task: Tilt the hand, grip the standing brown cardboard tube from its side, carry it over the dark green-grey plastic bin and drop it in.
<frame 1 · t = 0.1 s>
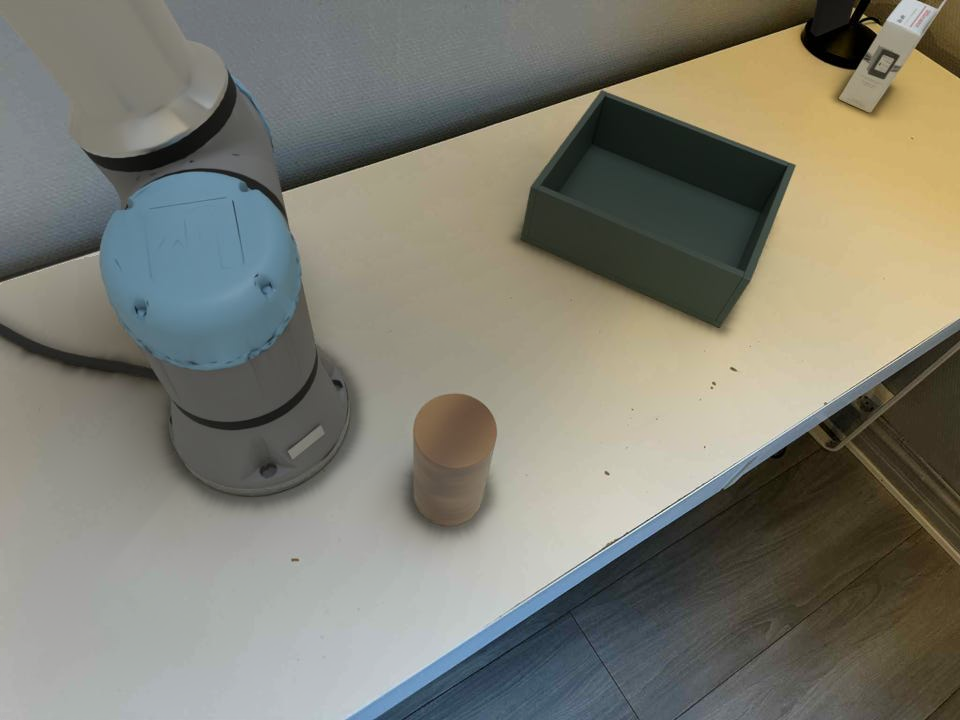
ink box: (862, 94, 96), on the table
cardboard tube: (448, 492, 57), on the table
bin: (647, 227, 77), on the table
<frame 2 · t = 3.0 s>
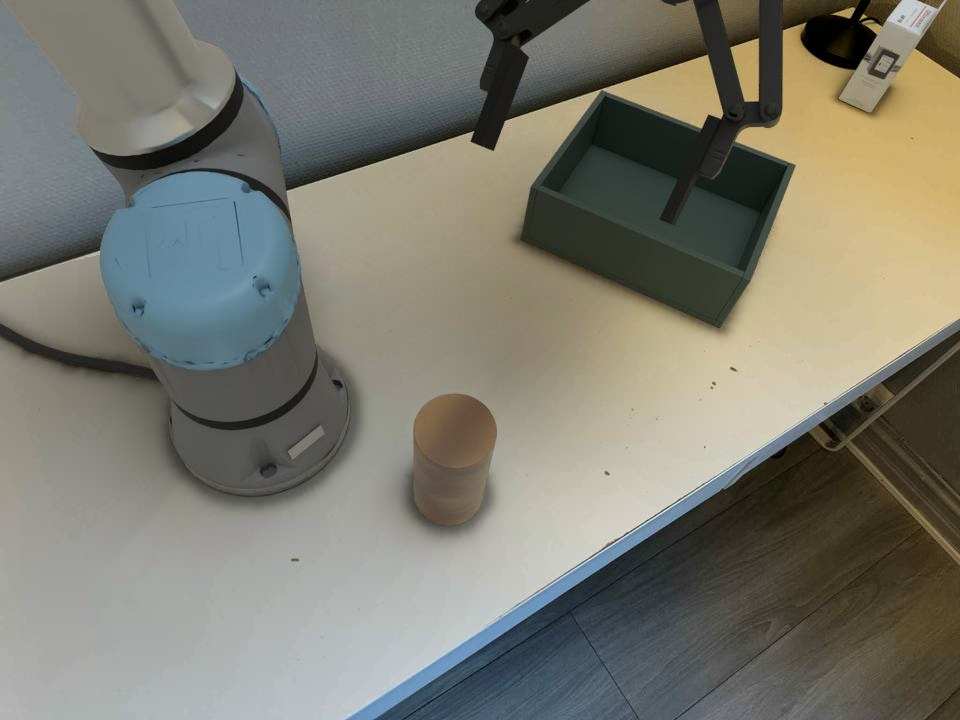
hand: (570, 183, 44), 25 cm above the table, tool tilted 40°, fingers open, 13 cm apart
nothing on the table moved.
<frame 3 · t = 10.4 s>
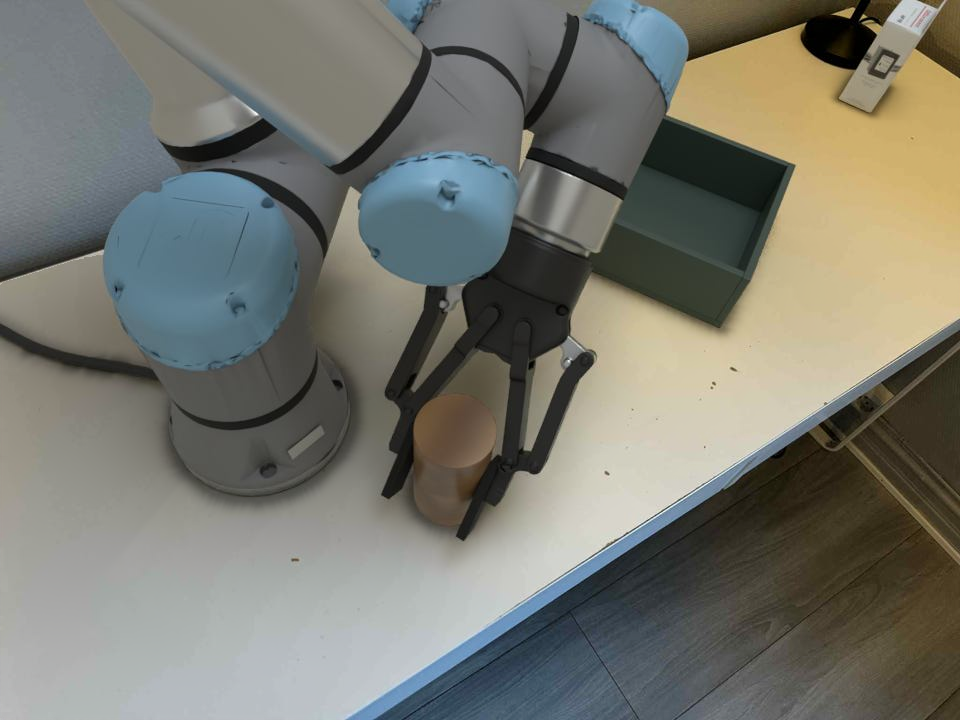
hand: (427, 511, 52), 4 cm above the table, tool tilted 45°, fingers closed on cardboard tube, 6 cm apart
cardboard tube: (448, 492, 57), on the table, touching gripper
everything else where it was.
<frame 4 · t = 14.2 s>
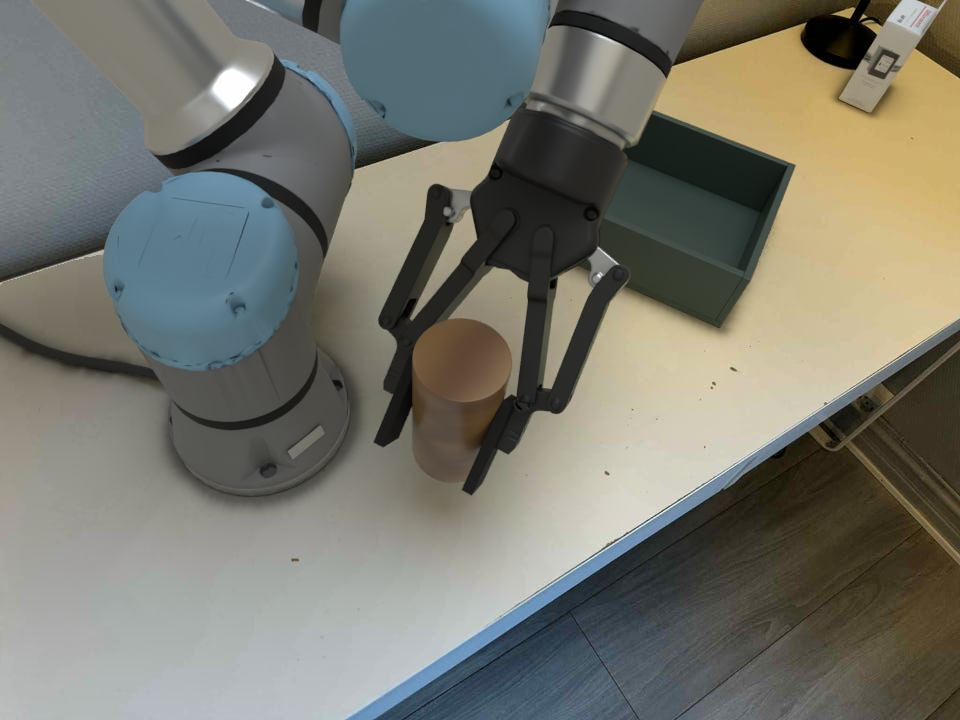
hand: (429, 462, 45), 13 cm above the table, tool tilted 45°, fingers closed on cardboard tube, 6 cm apart
cardboard tube: (452, 445, 50), point 9 cm above the table, touching gripper
everything else where it was.
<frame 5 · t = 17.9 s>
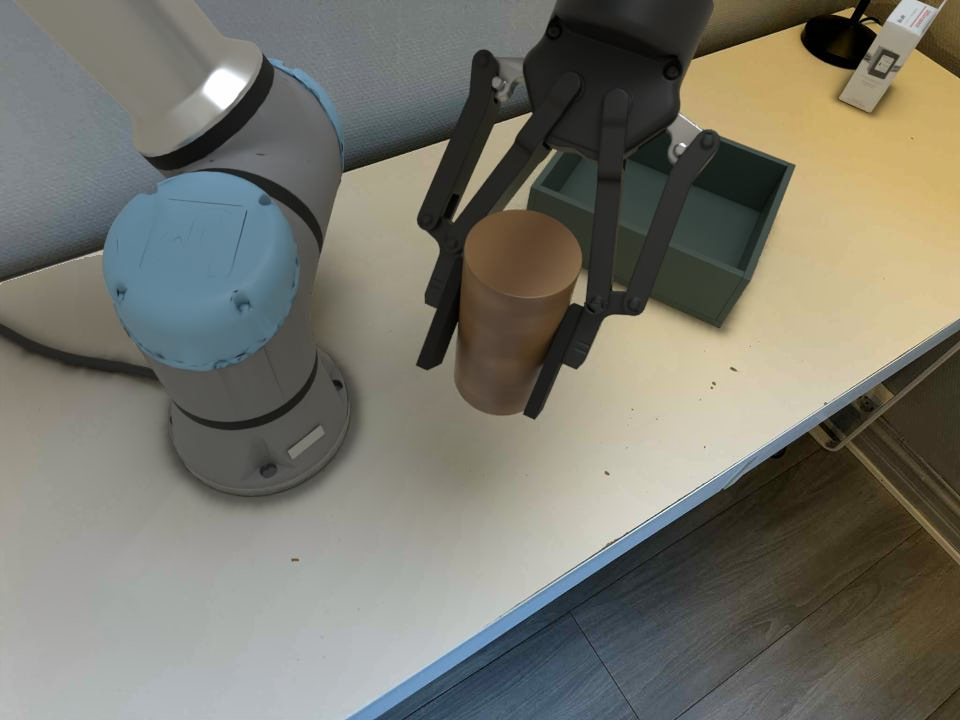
hand: (480, 387, 38), 22 cm above the table, tool tilted 45°, fingers closed on cardboard tube, 6 cm apart
cardboard tube: (499, 375, 43), point 18 cm above the table, touching gripper
everything else where it was.
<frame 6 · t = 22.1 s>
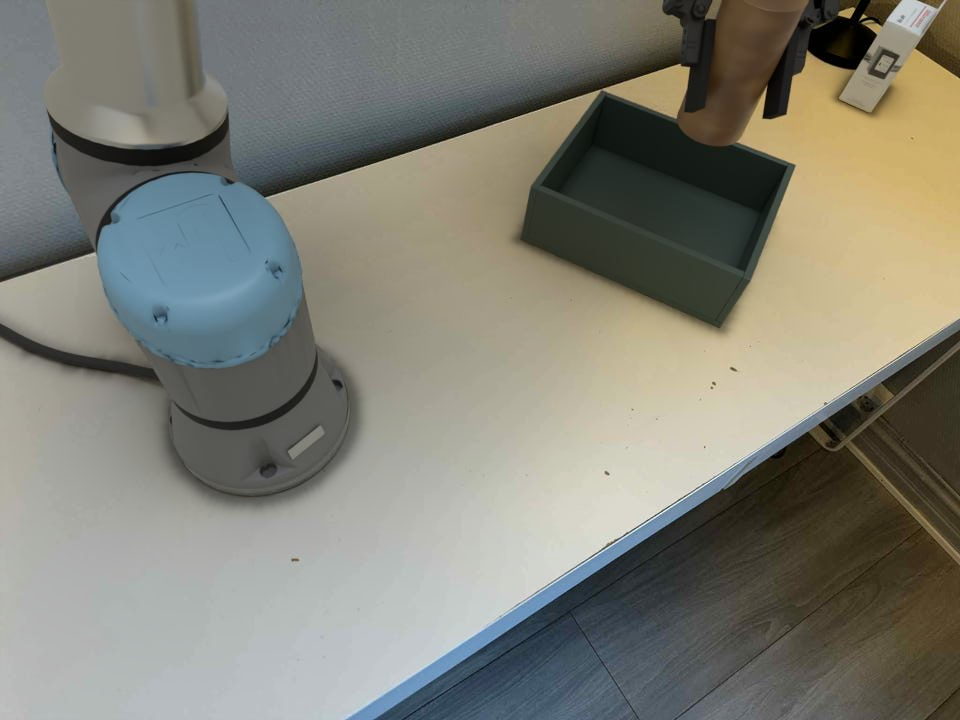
hand: (734, 112, 54), 22 cm above the table, tool tilted 45°, fingers closed on cardboard tube, 6 cm apart
cardboard tube: (709, 124, 59), point 18 cm above the table, touching gripper
everything else where it was.
when the fingers open (14 cm above the table, at t = 25.6 s): cardboard tube drops 10 cm, resting on bin.
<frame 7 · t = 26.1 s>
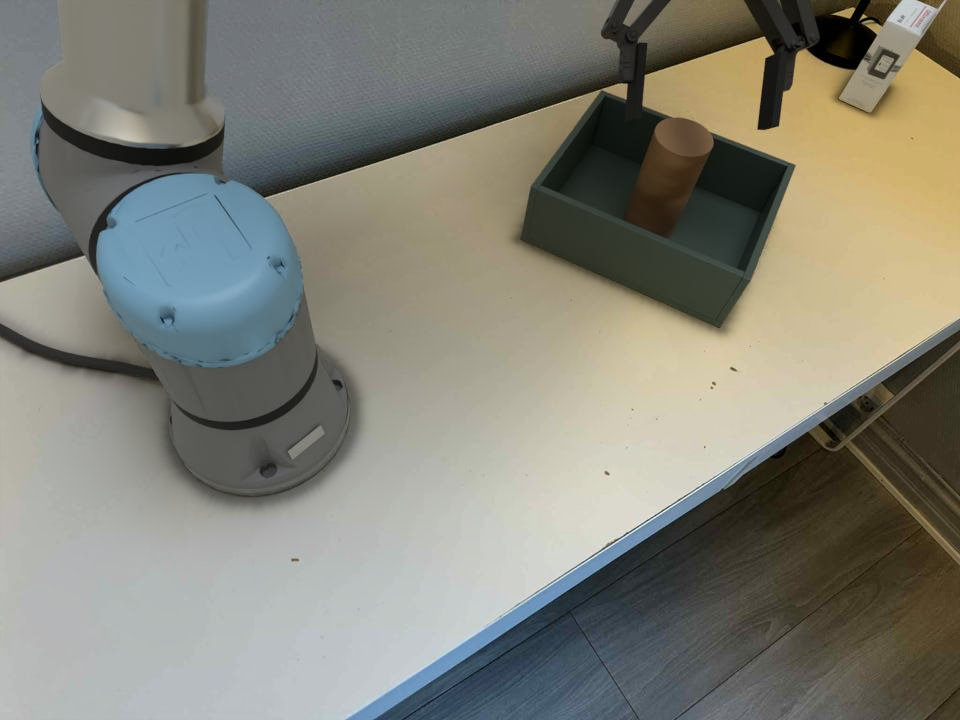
hand: (700, 125, 62), 16 cm above the table, tool tilted 45°, fingers open, 12 cm apart
cardboard tube: (649, 222, 77), point 1 cm above the table, touching bin
everything else where it was.
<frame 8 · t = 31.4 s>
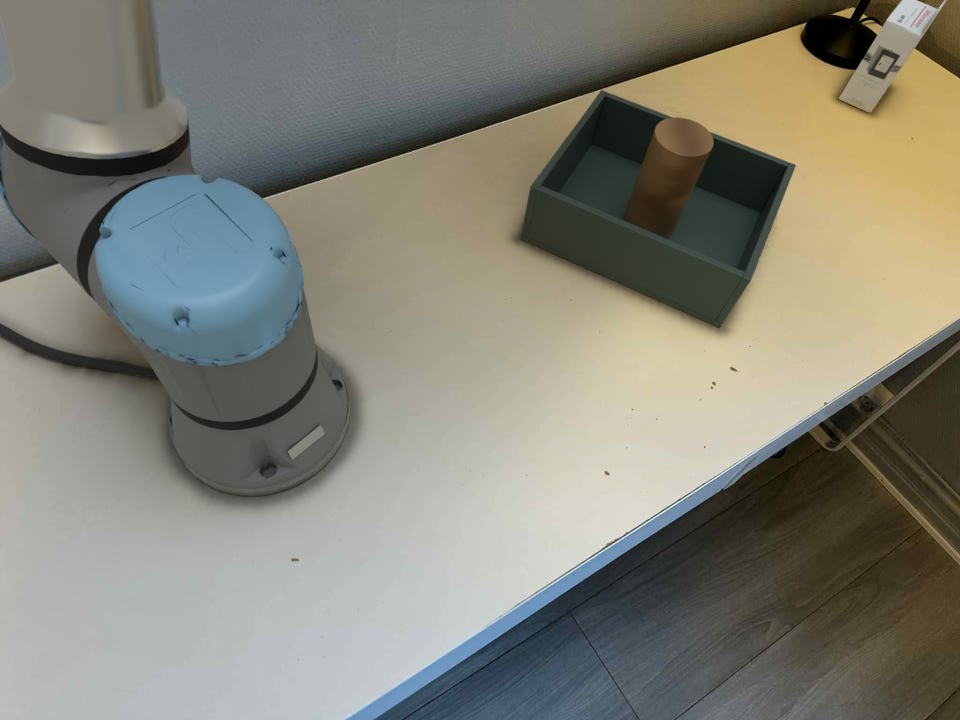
nothing on the table moved.
at the end: cardboard tube inside the target area in the bin (0.0 cm from its centre), point 0.8 cm above the bin's base; the gripper is holding nothing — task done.
